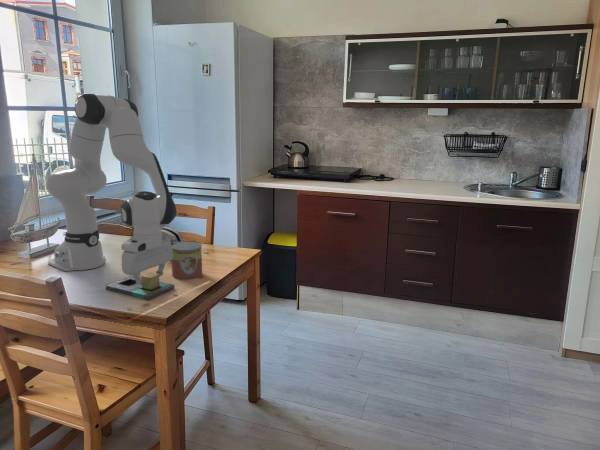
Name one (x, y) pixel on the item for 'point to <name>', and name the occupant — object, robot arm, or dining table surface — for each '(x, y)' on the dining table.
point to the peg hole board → (138, 288)
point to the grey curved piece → (171, 233)
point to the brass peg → (150, 282)
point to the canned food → (186, 260)
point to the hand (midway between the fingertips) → (149, 279)
